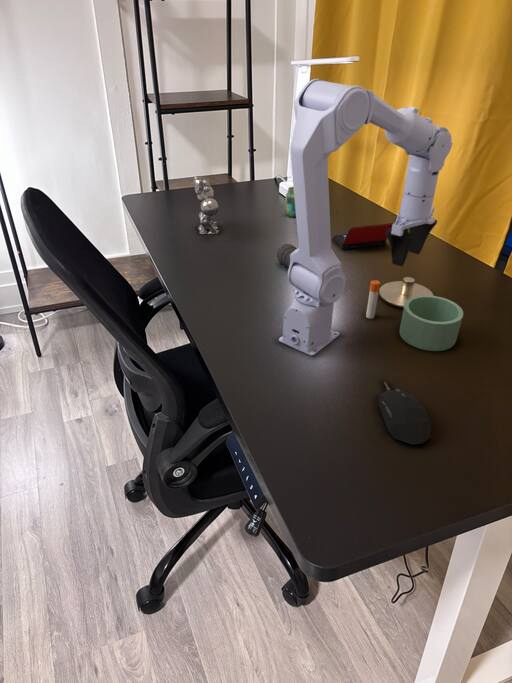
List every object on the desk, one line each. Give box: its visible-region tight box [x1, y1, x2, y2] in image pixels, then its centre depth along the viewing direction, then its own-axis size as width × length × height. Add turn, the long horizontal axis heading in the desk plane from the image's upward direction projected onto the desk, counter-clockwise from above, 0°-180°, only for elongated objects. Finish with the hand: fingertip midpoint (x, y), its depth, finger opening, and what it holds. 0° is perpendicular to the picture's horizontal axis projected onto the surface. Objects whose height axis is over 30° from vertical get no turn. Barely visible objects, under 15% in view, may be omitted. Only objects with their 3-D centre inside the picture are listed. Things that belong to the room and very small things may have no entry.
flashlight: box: [276, 243, 298, 269], centre depth 118 cm, size 15×5×5 cm, turn 25°
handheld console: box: [332, 222, 394, 250], centre depth 132 cm, size 12×11×7 cm
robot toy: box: [193, 175, 220, 235], centre depth 136 cm, size 15×6×15 cm, turn 12°
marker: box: [365, 279, 381, 320], centre depth 101 cm, size 2×2×8 cm
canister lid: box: [378, 276, 435, 309], centre depth 109 cm, size 12×12×4 cm
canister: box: [399, 295, 464, 352], centre depth 96 cm, size 11×11×6 cm
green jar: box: [284, 186, 296, 218], centre depth 149 cm, size 5×5×8 cm
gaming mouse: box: [377, 381, 432, 445], centre depth 78 cm, size 6×15×4 cm, turn 6°
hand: (406, 258), depth 103 cm, fingers open, 7 cm apart
